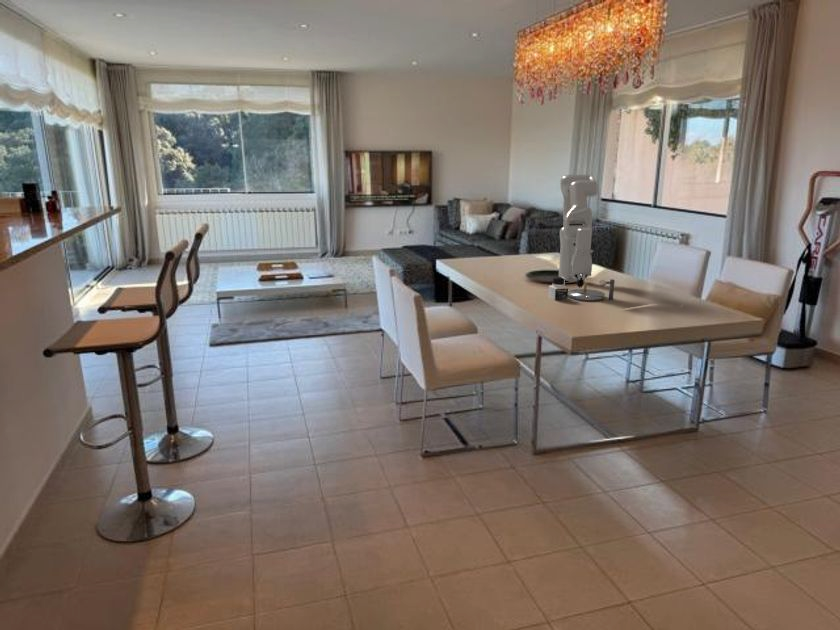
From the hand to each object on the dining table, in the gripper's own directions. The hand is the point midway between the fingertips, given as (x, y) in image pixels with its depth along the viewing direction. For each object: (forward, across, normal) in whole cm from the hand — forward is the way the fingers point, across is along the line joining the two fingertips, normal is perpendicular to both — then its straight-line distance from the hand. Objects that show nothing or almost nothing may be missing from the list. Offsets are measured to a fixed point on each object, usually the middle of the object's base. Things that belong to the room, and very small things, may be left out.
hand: (579, 286), depth 299 cm
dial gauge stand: (+4, -11, +12) cm, 17 cm away
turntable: (+3, -2, +8) cm, 8 cm away
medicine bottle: (+4, +13, +10) cm, 17 cm away
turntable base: (+4, -2, +8) cm, 9 cm away
